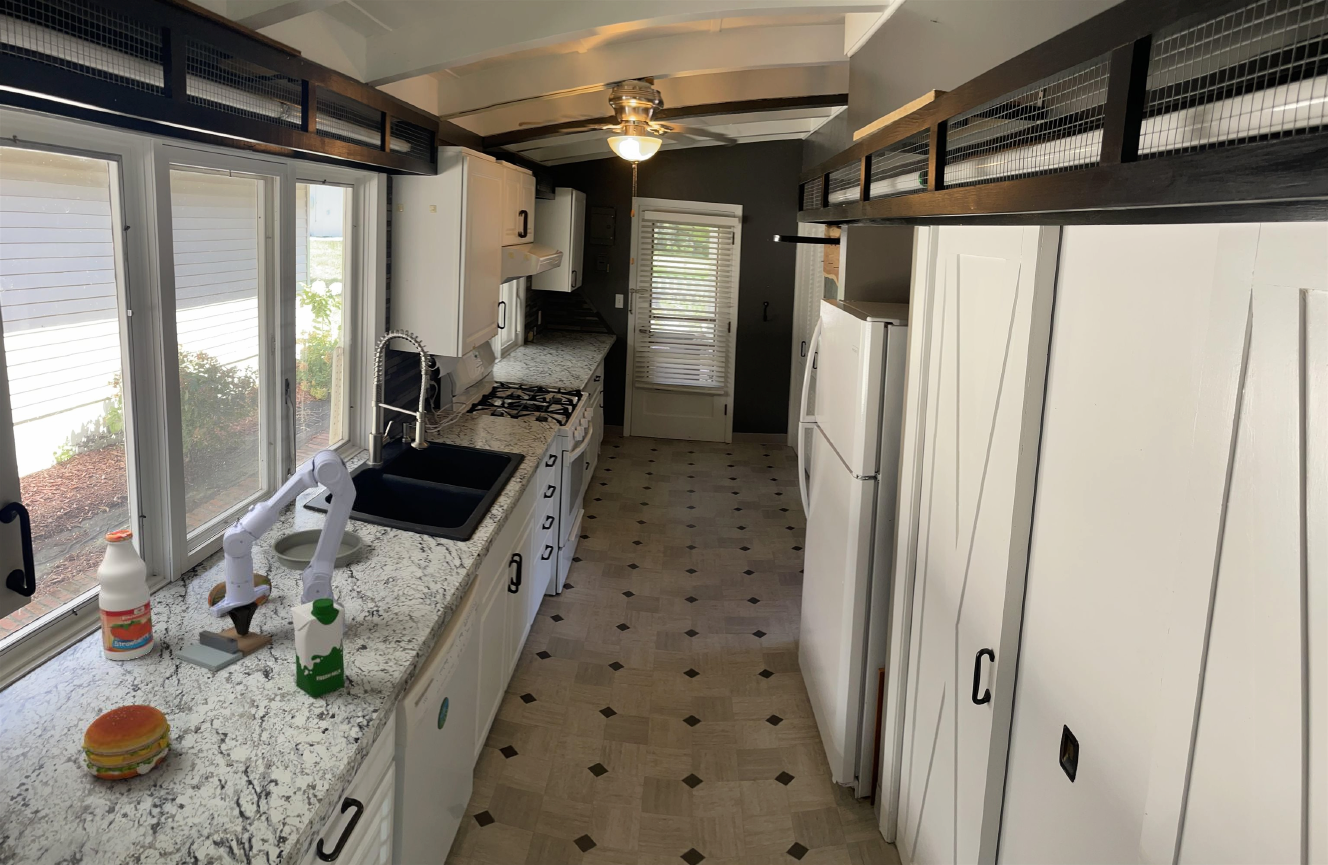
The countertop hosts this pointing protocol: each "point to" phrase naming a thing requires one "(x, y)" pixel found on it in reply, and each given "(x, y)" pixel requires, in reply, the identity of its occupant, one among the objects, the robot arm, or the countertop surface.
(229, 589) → the robot arm
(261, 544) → the countertop surface
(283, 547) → the cake pan
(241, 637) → the board
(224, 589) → the tin
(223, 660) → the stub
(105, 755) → the burger
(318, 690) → the milk carton
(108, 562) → the fruit juice
